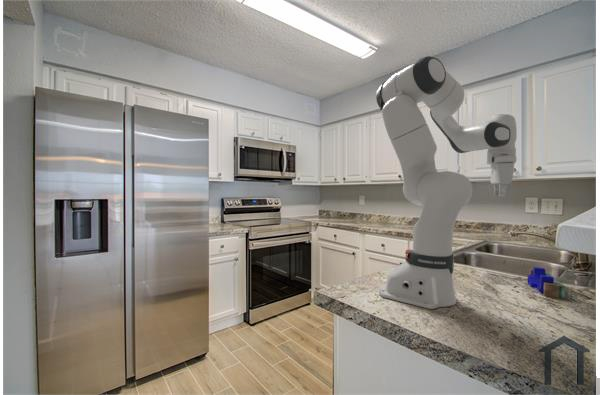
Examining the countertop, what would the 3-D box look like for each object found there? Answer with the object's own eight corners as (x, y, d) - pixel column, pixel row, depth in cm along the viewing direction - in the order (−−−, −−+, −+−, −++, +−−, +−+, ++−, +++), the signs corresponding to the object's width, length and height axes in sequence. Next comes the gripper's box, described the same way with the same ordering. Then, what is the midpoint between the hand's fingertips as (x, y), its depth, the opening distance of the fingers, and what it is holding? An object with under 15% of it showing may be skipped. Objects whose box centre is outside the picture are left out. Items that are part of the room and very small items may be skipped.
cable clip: (527, 282, 104) (528, 266, 103) (543, 284, 101) (544, 268, 101) (534, 293, 93) (535, 275, 93) (552, 296, 91) (553, 277, 91)
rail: (544, 296, 90) (545, 283, 90) (529, 279, 106) (529, 268, 106) (564, 299, 88) (565, 286, 88) (545, 281, 104) (545, 270, 104)
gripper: (487, 161, 118) (485, 194, 119) (495, 157, 100) (494, 196, 100) (505, 161, 115) (504, 195, 116) (517, 156, 97) (516, 197, 97)
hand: (499, 195), depth 108 cm, fingers open, 8 cm apart
